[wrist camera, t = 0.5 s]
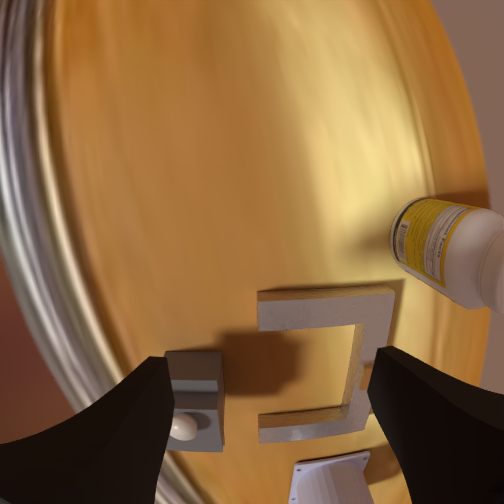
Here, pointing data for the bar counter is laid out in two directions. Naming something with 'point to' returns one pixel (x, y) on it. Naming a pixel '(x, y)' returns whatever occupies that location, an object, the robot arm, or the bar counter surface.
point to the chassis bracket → (361, 361)
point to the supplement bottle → (453, 250)
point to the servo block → (197, 401)
